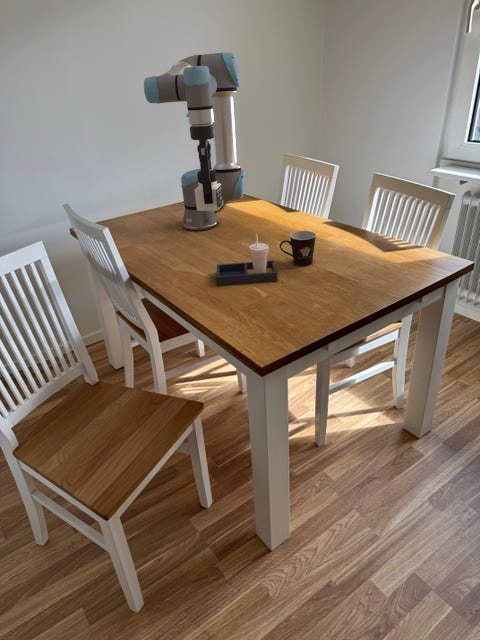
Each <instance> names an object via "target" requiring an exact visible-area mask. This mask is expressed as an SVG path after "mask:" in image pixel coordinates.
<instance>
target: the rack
mask: <svg viewBox="0 0 480 640" xmlns="http://www.w3.org/2000/svg"><path fill="white" fill-rule="evenodd" d="M275 263H276V262H275V260H267V265H266V273H254V268H253V263H252V261H246V262H234V263H221V264H220V263H218V264H217V265H216V274H215V275H216V276H215V277H216V286H218V287H219V286H231V285H243V284H244V285H246V284H257V283H270V282H278V281H277V280H278V275H277V274H278V272H277V268H276V264H275Z"/></svg>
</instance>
